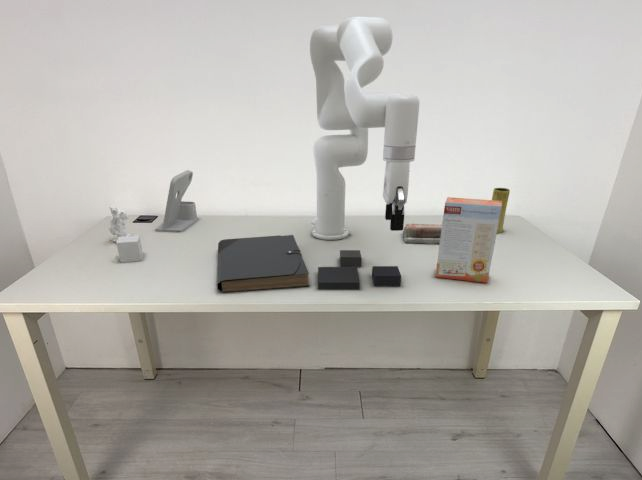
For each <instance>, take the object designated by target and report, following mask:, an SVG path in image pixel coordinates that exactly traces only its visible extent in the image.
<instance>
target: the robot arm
mask: <svg viewBox="0 0 642 480" xmlns="http://www.w3.org/2000/svg"><path fill="white" fill-rule="evenodd" d="M392 44H393V30H392V26H391V24H390V23H389V22H388V21H387V19H385V18H383V17H379V16H378V17H377V16H350V17H347V18H345V19H343V20H342V21H341V22H340V23H339V24H325V25H320V26H318V27H316V28H315V29H314V30H313V31H312V33H311V36H310V41H309V53H310V55H309V57H310V61H311V65H312V69H313V72H314V77H315V85H316V86H315V87H316V88H315V91H316V92H315V94H316V115H317V116H316V117H317V124H318V126H319V128H320V129H322V130H325V131H349V134H328V135H323V136H321V137H318V138H317V139H316V140H315V141H314V143H313V148H312V150H313V158H314V166H315V175H316V176H315V177H316V217H314V218H313V220H311V221H310V224H311V225H314V229H313V230H312V232H311V234H312V236H313V237H314V238H317V239H319V240H324V241H336V240H337V241H338V240H342V239H345V238H347V237H349V234H350V232H349V230H348V228H345V217H346V216H345V214H346V213H345V211H346V180H345V177H344V176H343V174H342V173H341V171H340V168H346V167H359V166H362V165H364V163H365V162H366V161H367V158H368V151H369V129H376V128H384V134H383V135H384V136H383V151H382V152H383V154H382V160H383V161H385V166H384V167H385V168H384V178H383V188H382V198H383V200H384V202H385V213H384V220H385V221H390V223H389V226H390V227H389V229H390V231H392V232H394V231H395V232H399V231H402V232H403V231H404V227H405V226H404V225H405V205H406V204H407V202H408V197H409V195H408V194H409V184H410V183H409V182H410V166H411V165H410V163H411V162H414V161H415V157H416V146H417V136H418V124H419V115H420V114H419V113H420V98H419V97H418V96H417V95H414V94H405V93H402V92H364V91H363V88H364V87H366V86H368V85H370V84H372V83H373V82H374V81H376V80H377V79H378V78H379V77H380V75H381V74H382V72H383V68H384V65H385V62H384V61H385V60H384V56H385V55H387V54H388V52H389V51H390V50H391V48H392ZM337 62H346V65H347V68H348V69H349V73H348V75H347V77H346V80H345V76H344V73H343V72H342V70H341V68H340V66H339V64H337Z"/></svg>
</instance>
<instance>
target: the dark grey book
mask: <svg viewBox="0 0 642 480" xmlns="http://www.w3.org/2000/svg"><path fill="white" fill-rule="evenodd" d="M309 274H310V272H309V270H308V267H307V265H306V262H305V260H304V258H303V254H302V253H301V249H300V248H299V246H298V243H297V241H296V238H295V236H294V234H287V235H286V234H285V235H281V234H280V235H266V236H265V235H264V236H254V237H253V236H252V237H240V238H239V237H237V238H228V239H227V238H225V239H221V240H219V242H218V243H217V274H216V275H217V277H216V288H217V290H218V291H219V292H221V293H225V294H227V293H237V292H238V293H239V292H251V291H263V290H275V289H276V290H277V289H289V288H290V289H291V288H302V287H310V284H309Z"/></svg>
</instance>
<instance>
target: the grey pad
mask: <svg viewBox="0 0 642 480" xmlns="http://www.w3.org/2000/svg"><path fill="white" fill-rule="evenodd" d="M339 264H340V265H339V267H357V268H361V267H362V254H361V250H359V249H339Z"/></svg>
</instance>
